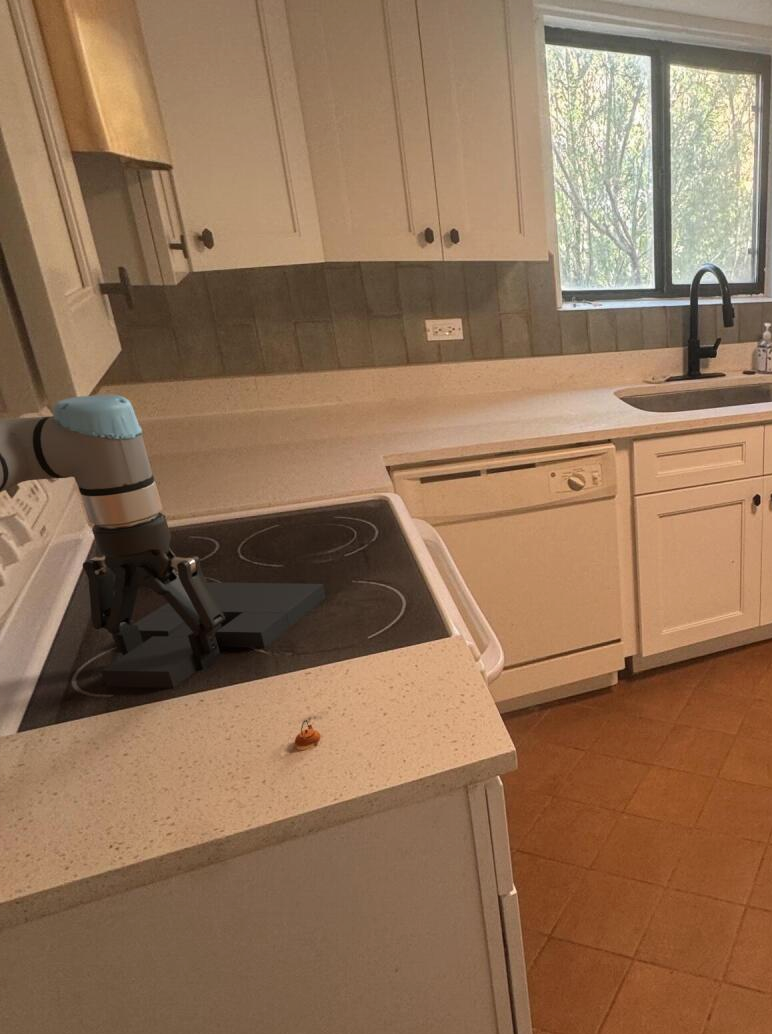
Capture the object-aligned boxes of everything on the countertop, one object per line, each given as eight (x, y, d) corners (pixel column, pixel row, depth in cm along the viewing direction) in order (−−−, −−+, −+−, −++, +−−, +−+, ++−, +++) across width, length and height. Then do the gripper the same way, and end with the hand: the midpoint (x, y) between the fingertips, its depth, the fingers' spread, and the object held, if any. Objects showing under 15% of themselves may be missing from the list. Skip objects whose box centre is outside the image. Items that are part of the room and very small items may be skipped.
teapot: (289, 746, 92) (284, 727, 91) (311, 732, 95) (307, 713, 94) (306, 752, 91) (301, 733, 90) (328, 737, 94) (324, 719, 93)
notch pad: (130, 655, 112) (122, 630, 110) (206, 604, 127) (200, 582, 125) (267, 657, 111) (260, 632, 110) (327, 606, 126) (322, 583, 125)
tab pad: (109, 697, 102) (100, 670, 100) (180, 646, 114) (173, 622, 113) (176, 698, 102) (168, 671, 100) (241, 647, 114) (234, 623, 112)
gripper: (231, 509, 102) (269, 659, 110) (70, 508, 103) (119, 657, 111) (190, 529, 95) (234, 688, 103) (18, 528, 96) (74, 686, 104)
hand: (174, 672), depth 107 cm, fingers closed on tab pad, 9 cm apart
